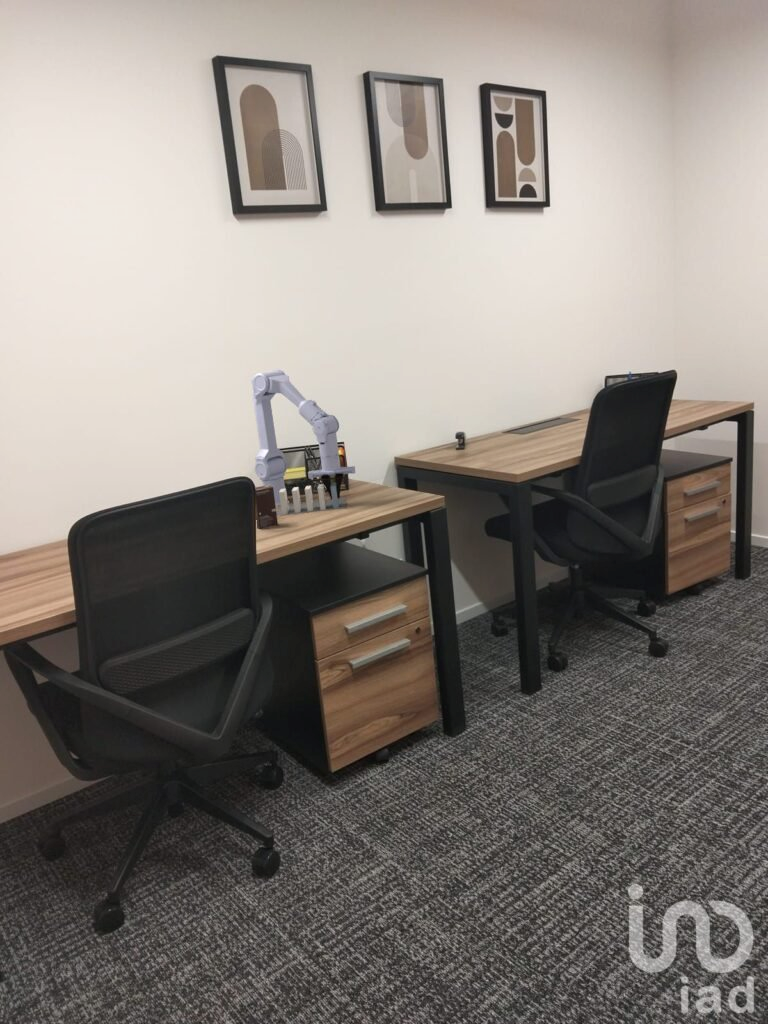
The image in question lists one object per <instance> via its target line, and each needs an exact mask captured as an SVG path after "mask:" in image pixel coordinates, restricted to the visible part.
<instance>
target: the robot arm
mask: <svg viewBox="0 0 768 1024" xmlns="http://www.w3.org/2000/svg"><path fill="white" fill-rule="evenodd" d="M251 384H252V402H253V409H254V415H255V421H256V428H257V434H258V435H257V436H258V442H259V448H260V450H259V451H258V453H257V454H256V456H255V459H254V460H255V466H254V472H255V474H256V476H257V477H258V478H259V480H260V481H261V482H262V486H266V485H269V486H272V487H273V489H274V497H275V505H276V506H280V505H281V503H280V496H279V491H280V490H281V489H285V488H286V486H285V485H286V484H285V478H284V476H285V475H286V472H287V470H288V464H287V461H286V459H285V457H284V456H285V455H284V452H283V451H282V450H281V449H279V447H278V444H277V438H276V430H275V423H274V417H273V409H272V404H271V402H272V401H271V400H272V399H273V398H274V397H275V395H276V394H281V395H282V396H284V397H285V398H287V399H288V400H289V401H290V402H291V403H292V404H293V405H294V406H296V407H297V408H298V413H299V415H300V416H301V417H302V418H303V419H304V420H306V422H308V423H309V425H311V427H312V428H311V429H312V432H313V435H315V437H316V441H317V443H318V447H319V448H318V449H319V455H320V462H321V463H320V464H321V469H317V470H316V469H315V470H311V471H310V470H309V471H308V472H307V475H308V479H313V478H314V479H315V478H320V479H321V483H323V484H324V487H325V488H326V491H327V493H328V495H329V498H330V499H332V494H331V487H330V486H331V483H332V481H331V477H333V476H334V480H335V483H336V487H337V497H338V498H341V486H342V482H343V479H344V476H345V475H348V474H349V475H350V474H353V475H354V474H356V467H355V466H353V465H352V466H341V462H340V454H339V445H338V438H337V437H338V435H337V432H338V431H339V429H340V423H339V420H338V418H337V417H336V416H335V415H333V414H329V413H327V412H326V411H324V410H323V409H322V408H321V407H320V406H319V405H317V402H316V401H315V400H312V399H307V398H306V397H304V396H303V395H302V393H301V392H300V391H299V390H298V389H297V388H296V387H295V386H294V385H293V384H292V382H291V381H290V377H289V376H288V375H287V374H286V373H285V371H284V370H281V369H276V370H272V371H266V372H265V371H264V372H257V373H256V374H255V375H254V376H253V378H252V379H251ZM330 499H329V500H330ZM288 504H291V503H290V500H288Z"/></svg>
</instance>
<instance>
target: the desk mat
mask: <svg viewBox="0 0 768 1024" xmlns="http://www.w3.org/2000/svg"><path fill="white" fill-rule="evenodd" d="M347 499H348V497H340V498H339V508H333V502H332V499H326V505H327V506H326V509H324V510H320V502H319V500H313V503H314V509H313V511H308V509H307V502H306V501H305V502H304V501H303V502H301V508H302V509H301V511H300V512H297V513H295V509H294V503H289V504H288V506H289V511H288V513H287V514H282V509H281V505H279V507H278V509H277V510H276V513H277V517H280V516H289V515H298V514H299V515H300V514H308V513H316V512H325V511H332V510H334V511H335V510H341V509H346V507H347Z"/></svg>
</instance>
